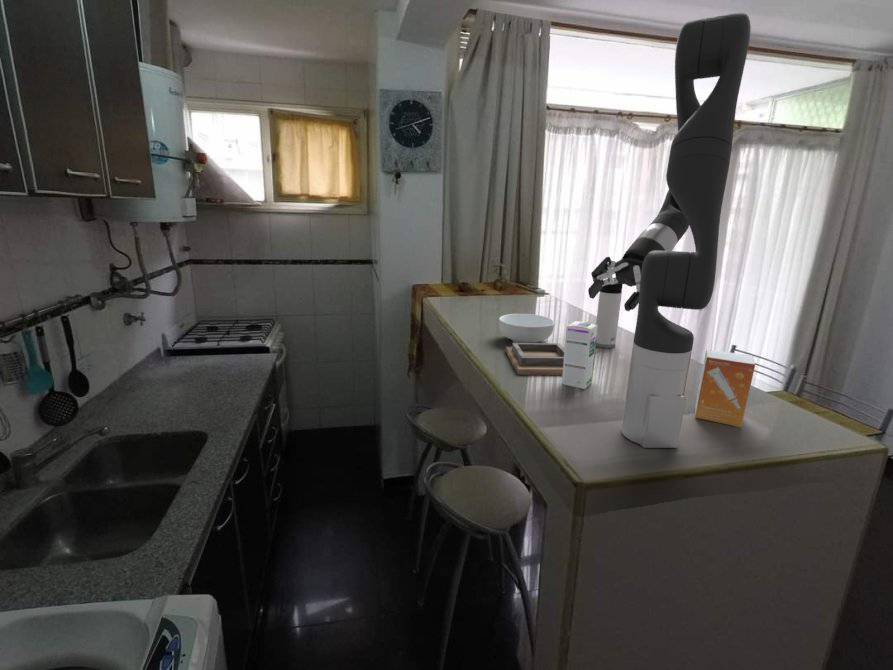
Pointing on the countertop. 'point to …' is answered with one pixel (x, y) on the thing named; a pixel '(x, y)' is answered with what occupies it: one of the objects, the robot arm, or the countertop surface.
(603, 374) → the countertop surface
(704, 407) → the small box
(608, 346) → the travel mug
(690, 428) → the countertop surface
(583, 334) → the syrup box
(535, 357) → the wooden tray
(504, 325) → the cereal bowl
